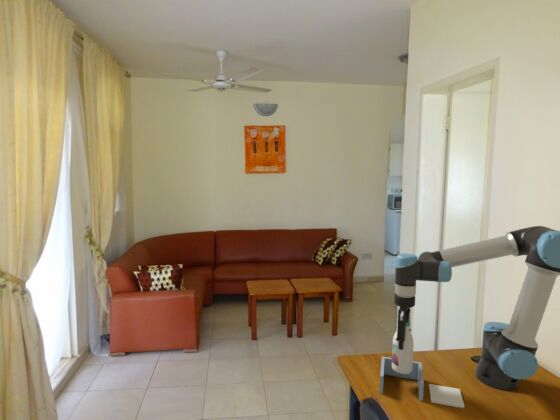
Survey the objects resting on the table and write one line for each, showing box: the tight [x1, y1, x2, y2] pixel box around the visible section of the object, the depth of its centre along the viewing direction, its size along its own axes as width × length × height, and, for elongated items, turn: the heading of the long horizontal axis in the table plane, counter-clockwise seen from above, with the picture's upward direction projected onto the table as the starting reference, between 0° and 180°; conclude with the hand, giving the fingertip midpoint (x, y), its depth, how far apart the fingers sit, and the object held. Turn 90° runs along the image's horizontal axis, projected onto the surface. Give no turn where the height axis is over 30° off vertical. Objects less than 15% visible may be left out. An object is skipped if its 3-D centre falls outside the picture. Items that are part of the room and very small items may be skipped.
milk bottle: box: [391, 319, 414, 374], centre depth 145 cm, size 8×8×20 cm
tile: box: [428, 383, 465, 409], centre depth 141 cm, size 11×11×1 cm
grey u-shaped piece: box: [378, 356, 425, 402], centre depth 147 cm, size 15×15×7 cm
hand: (402, 351), depth 146 cm, fingers closed on milk bottle, 8 cm apart
